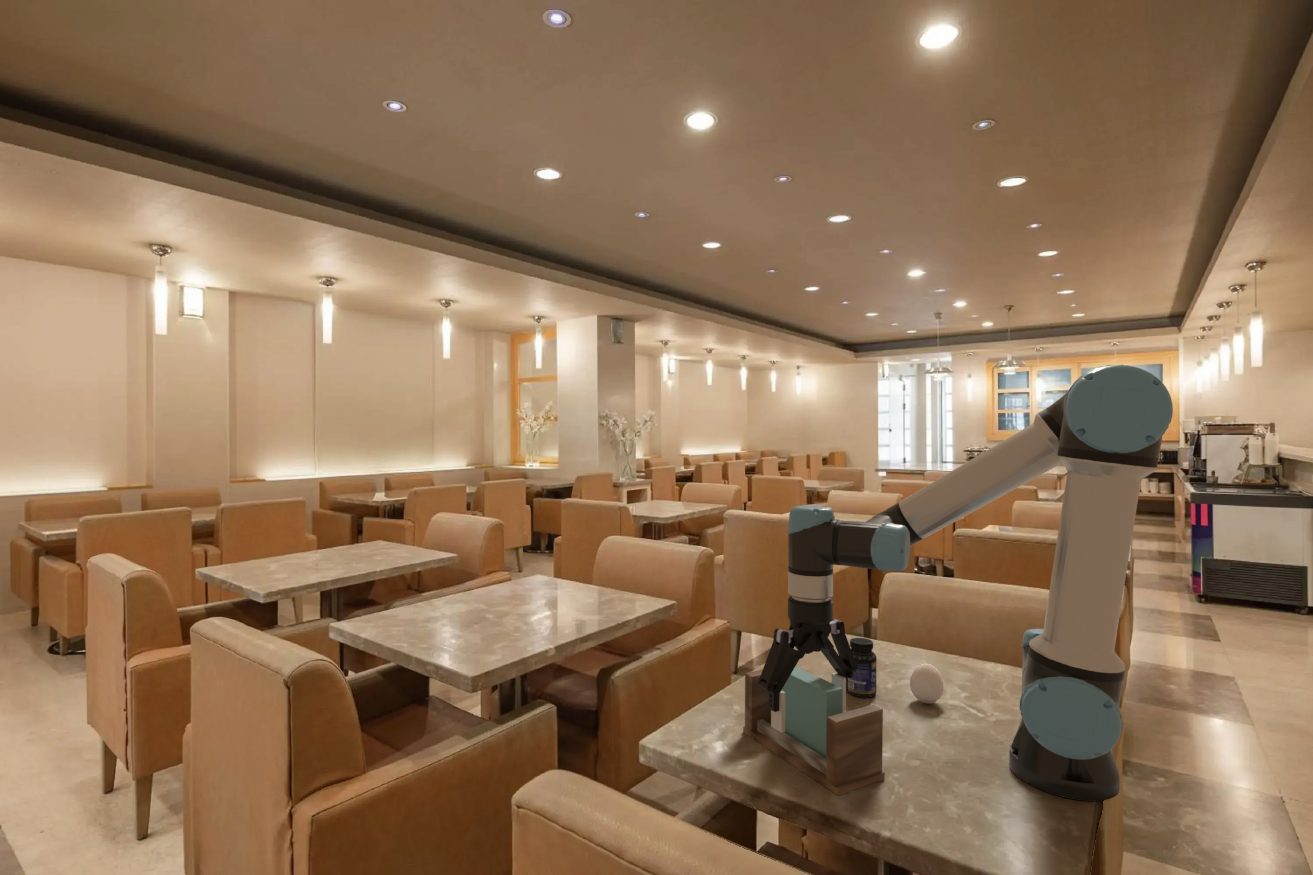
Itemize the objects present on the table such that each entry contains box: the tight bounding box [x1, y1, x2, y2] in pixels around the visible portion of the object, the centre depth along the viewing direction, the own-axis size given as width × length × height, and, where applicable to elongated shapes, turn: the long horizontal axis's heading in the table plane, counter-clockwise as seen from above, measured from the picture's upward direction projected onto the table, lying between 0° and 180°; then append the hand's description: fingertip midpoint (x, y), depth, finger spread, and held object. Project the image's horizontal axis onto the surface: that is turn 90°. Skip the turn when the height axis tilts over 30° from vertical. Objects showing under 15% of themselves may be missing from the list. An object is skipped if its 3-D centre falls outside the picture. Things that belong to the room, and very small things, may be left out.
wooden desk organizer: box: [742, 669, 886, 796], centre depth 114 cm, size 24×10×11 cm, turn 29°
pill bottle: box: [847, 637, 877, 699], centre depth 140 cm, size 6×6×11 cm
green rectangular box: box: [782, 665, 843, 759], centre depth 114 cm, size 12×4×12 cm, turn 29°
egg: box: [909, 662, 945, 705], centre depth 135 cm, size 6×6×8 cm
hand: (809, 720), depth 114 cm, fingers open, 13 cm apart
